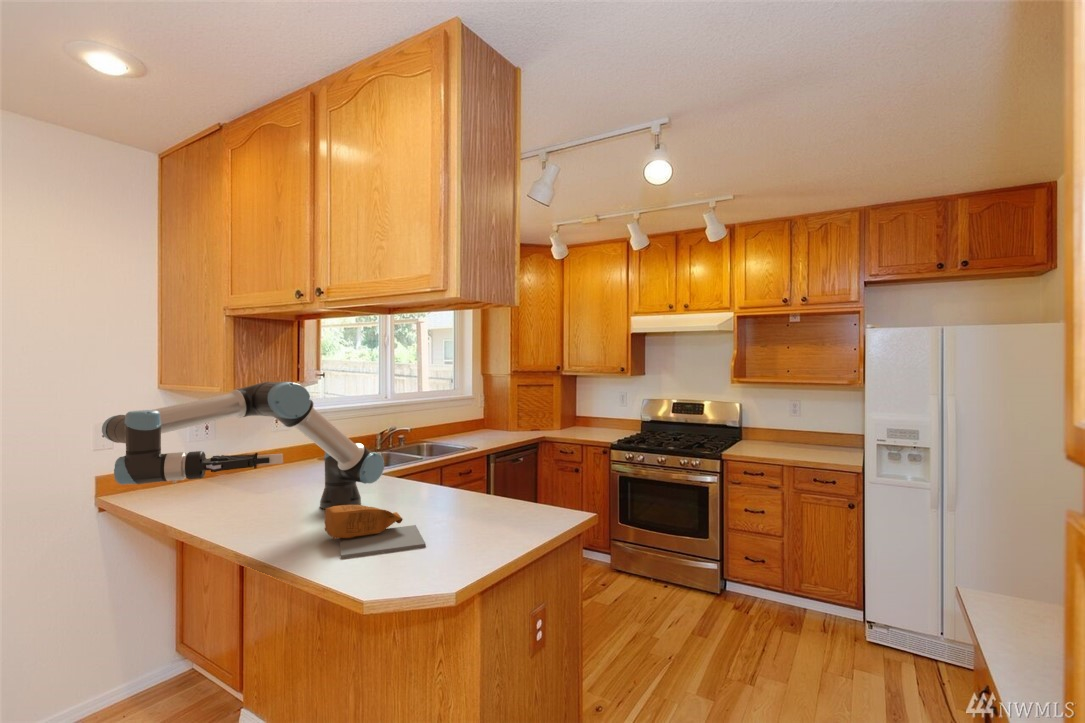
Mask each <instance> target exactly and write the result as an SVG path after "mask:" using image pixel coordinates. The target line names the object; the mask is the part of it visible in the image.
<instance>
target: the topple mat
mask: <svg viewBox="0 0 1085 723" xmlns="http://www.w3.org/2000/svg"><path fill="white" fill-rule="evenodd" d="M426 544H427V543H426V542H425V540H424V538H423V536H422V535H421V533H420V530H419V529H418V526H417V525H416V524H413V525H407V526H406V525H405V526H397V527H388V528H386V529H385V530H383V531H382V532H380V533H377V534H371V535H365V536H358V537H353V538H339V549H340V550H339V551H340V552H339V553H340V559H349V558H355V557H364V556H371V555H376V554H377V555H378V554H384V553H391V552H399V551H405V550H406V551H407V550H413V549H415V550H416V549H419V548H420V549H421V548H426V546H427V545H426Z"/></svg>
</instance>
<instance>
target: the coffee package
mask: <svg viewBox="0 0 1085 723" xmlns="http://www.w3.org/2000/svg"><path fill="white" fill-rule="evenodd" d="M324 511H325V513H324V514H325V516H324V518H325V519H324V530H325V532H326V533H327V534H328V535H329V536H330V537H331V538H332V539H333V540H334V539H340V538H353V537H358V536H365V535H371V534H377V533H380V532H382V531H383V530H385V529H387V528H390V526H391V525H393V524H395V523H397V524H401V523H402V522H403V520H404V519H403V517H401V515H400V514H399V513H398V512H391V511H390V510H386V509H382V508H378V507H374V506H366V505H361V504H359V505H339V506H333V507H329V508H326V509H324Z"/></svg>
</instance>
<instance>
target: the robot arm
mask: <svg viewBox="0 0 1085 723" xmlns="http://www.w3.org/2000/svg"><path fill="white" fill-rule="evenodd" d="M310 397H311V395H310V392H309V391H308V390H307V388H306V387H304V386H303V385H301V384H299V383H297V382H293V381H265V382H264V381H263V382H260V383H255V384H253V385H252V384H251V385H248V386H244V387H240V388H237V389H232V390H231V391H230V393H227V394H222V395H216V396H213V397H208V398H202V399H197V400H194V401H189V402H183V403H178V404H174V405H169V406H163V407H159V408H154V409H143V410H131V411H127V412H126V414H117V415H113V416H111V417H108V418H107V419H106V420H105V421H104V422H103V423H102V426H101V433H102V435H103V437H104V438H106V439H107V440H108V441H111V442H113V443H118V444H125V455H124V456H119V457H118V458H117V459H116V460H115V462H114V469H113V476H114V480H115V482H116V483H117V484H119V485H141V484H142V485H143V484H144V485H145V484H153V483H162V482H163V483H164V482H171V481H172V483H173V484H174V483H175V484H177V483H178V481H184V480H186V479H187V480H198V479H199V480H200V479H203V478H205V475H206V472H207V471H210V472H211V473H216V472H222V471H223V472H224V471H230V470H231V471H232V470H239V469H247V468H249V469H251V468H253V469H254V470H255V469H258V466H269V465H280V464H284V453H273V454H271V453H270V454H260V455H259V453H258V452H255V453H254V454H237V455H233V454H232V455H224V454H221V455H218V454H217V455H212V457H210V458H207V456H206V452H204V451H202V450H199V451H198V450H197V451H189V452H185V451H180V452H167V453H162V434H165V433H169V432H175V431H177V430H181V429H186V428H191V427H195V426H200V425H203V424H207V423H212V422H216V421H219V420H220V421H221V420H223V419H228V418H233V417H236V418H240V419H241V418H245V417H254V416H262V417H269V418H271V417H272V418H275V419H276V420H277V421H279V422H280V423H281V424H282V425H283V426H285V427H286V428H295V429H296V430H298V431H299V432H300V433H301V434H303V435H304V436H305V437H307V438H308V439H309V440H310V441H312V442H313V443H314V444H315V445H316V446H318V447H319V448H320V449H322V451H324V459H323V460H324V489H323V491H322V495H321V498H320V500H319V506H320V507H319V508H320V509H322V508H323V510H325V509H326V508H329V507H333V506H339V505H361V503H362V496H361V494H360V491H359V489H358V488H359V487H358V485H357V483H361V484H373V483H375V482H377V481H378V480H379V479H380V478H381V477H382V474H383V473H384V469H385V460H384V457H383V456H382V454H380V453H378V452H375V451H371V450H369V449H368V448H367V447H365V445H364V444H362V443H360V442H354V441H353V440H351V439H350V438H349V437H347V435H346V434H344V433H343V432H342V431H341V430H339V428H338V427H336V426H335V425H334V424H333V423H331V421H329V420H328V419H327V418H326V417H324V416H323V415H322V413H320V412H319V411H317V410H316V409H315V408H314V402H313V400H312V399H311V398H310Z"/></svg>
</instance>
